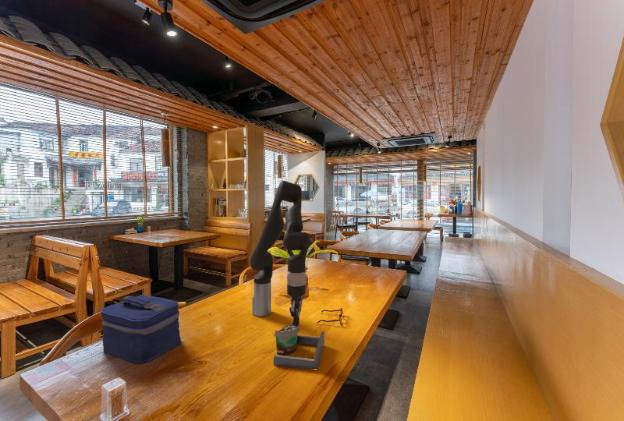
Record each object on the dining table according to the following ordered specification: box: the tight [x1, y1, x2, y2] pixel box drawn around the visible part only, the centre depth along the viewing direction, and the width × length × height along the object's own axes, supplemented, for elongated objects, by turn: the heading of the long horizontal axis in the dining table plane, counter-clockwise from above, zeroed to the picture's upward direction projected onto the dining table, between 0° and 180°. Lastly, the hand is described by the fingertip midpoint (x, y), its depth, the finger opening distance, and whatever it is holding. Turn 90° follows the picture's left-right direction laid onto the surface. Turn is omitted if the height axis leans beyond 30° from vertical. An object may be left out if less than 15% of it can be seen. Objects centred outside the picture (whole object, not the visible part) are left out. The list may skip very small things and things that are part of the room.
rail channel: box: [273, 331, 325, 370], centre depth 111 cm, size 17×17×6 cm
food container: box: [274, 322, 300, 356], centre depth 113 cm, size 12×6×10 cm, turn 144°
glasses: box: [316, 307, 344, 326], centre depth 142 cm, size 13×13×5 cm
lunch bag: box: [100, 294, 182, 365], centre depth 117 cm, size 31×21×20 cm
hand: (296, 324), depth 110 cm, fingers closed
